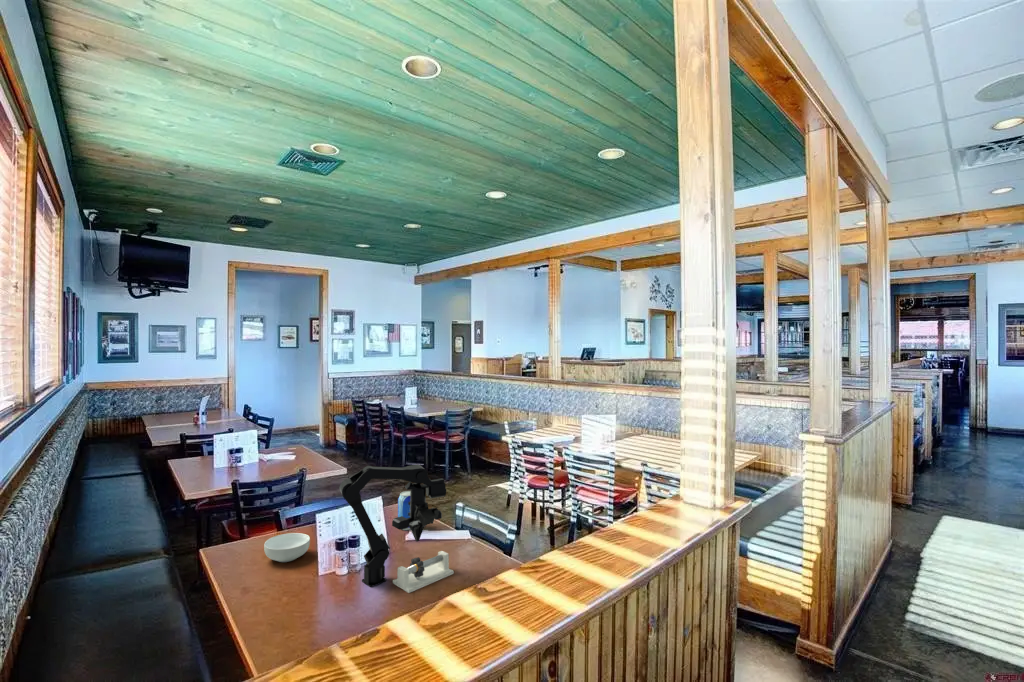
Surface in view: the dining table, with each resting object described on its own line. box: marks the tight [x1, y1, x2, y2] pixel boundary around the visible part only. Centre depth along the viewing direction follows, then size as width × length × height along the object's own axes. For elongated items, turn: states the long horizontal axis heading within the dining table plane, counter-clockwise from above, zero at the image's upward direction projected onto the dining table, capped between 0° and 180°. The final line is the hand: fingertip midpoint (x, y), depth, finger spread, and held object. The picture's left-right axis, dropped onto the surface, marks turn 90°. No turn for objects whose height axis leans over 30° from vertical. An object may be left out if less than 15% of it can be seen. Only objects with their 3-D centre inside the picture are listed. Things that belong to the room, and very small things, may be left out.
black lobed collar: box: [409, 557, 424, 577], centre depth 179 cm, size 2×7×7 cm, turn 46°
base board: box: [392, 550, 455, 594], centre depth 181 cm, size 20×10×6 cm, turn 136°
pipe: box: [406, 554, 443, 574], centre depth 181 cm, size 18×3×3 cm, turn 136°
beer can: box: [397, 490, 411, 531], centre depth 231 cm, size 8×8×16 cm
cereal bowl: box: [263, 532, 311, 563], centre depth 198 cm, size 17×17×7 cm
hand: (417, 541), depth 186 cm, fingers closed
